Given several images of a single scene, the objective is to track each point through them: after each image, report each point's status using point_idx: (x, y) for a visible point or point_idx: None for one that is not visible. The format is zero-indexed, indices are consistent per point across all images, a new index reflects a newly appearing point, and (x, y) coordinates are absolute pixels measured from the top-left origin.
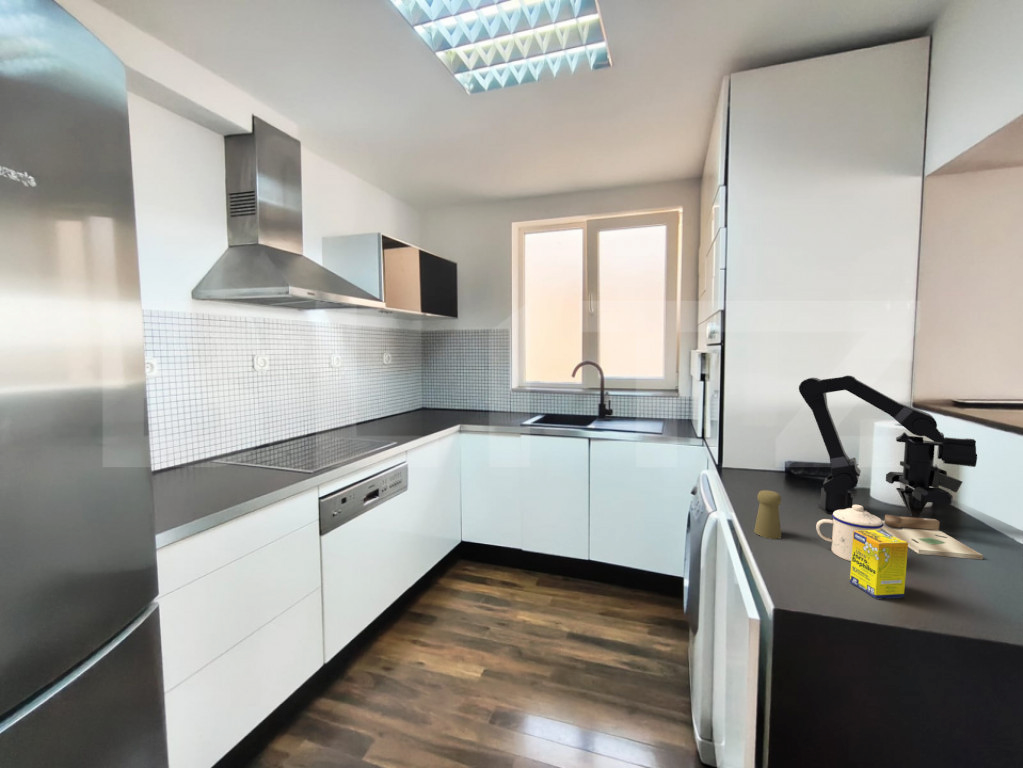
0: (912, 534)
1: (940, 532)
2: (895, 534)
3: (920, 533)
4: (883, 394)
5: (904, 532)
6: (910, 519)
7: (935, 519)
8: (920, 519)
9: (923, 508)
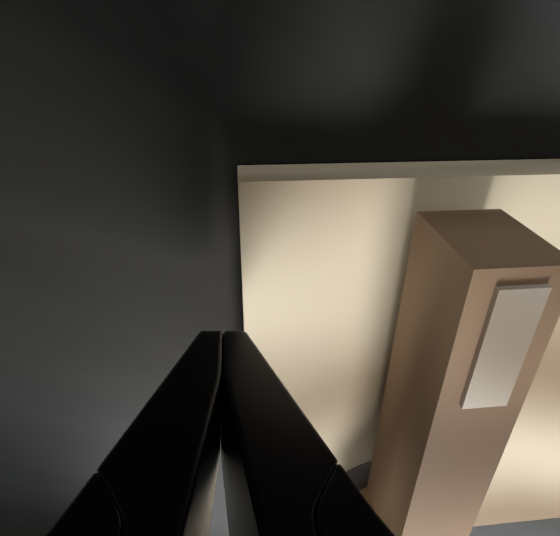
0: (548, 446)
1: (525, 204)
2: (523, 516)
3: (534, 391)
4: None
5: (506, 475)
6: (475, 512)
7: (485, 270)
8: (482, 441)
9: (339, 465)
